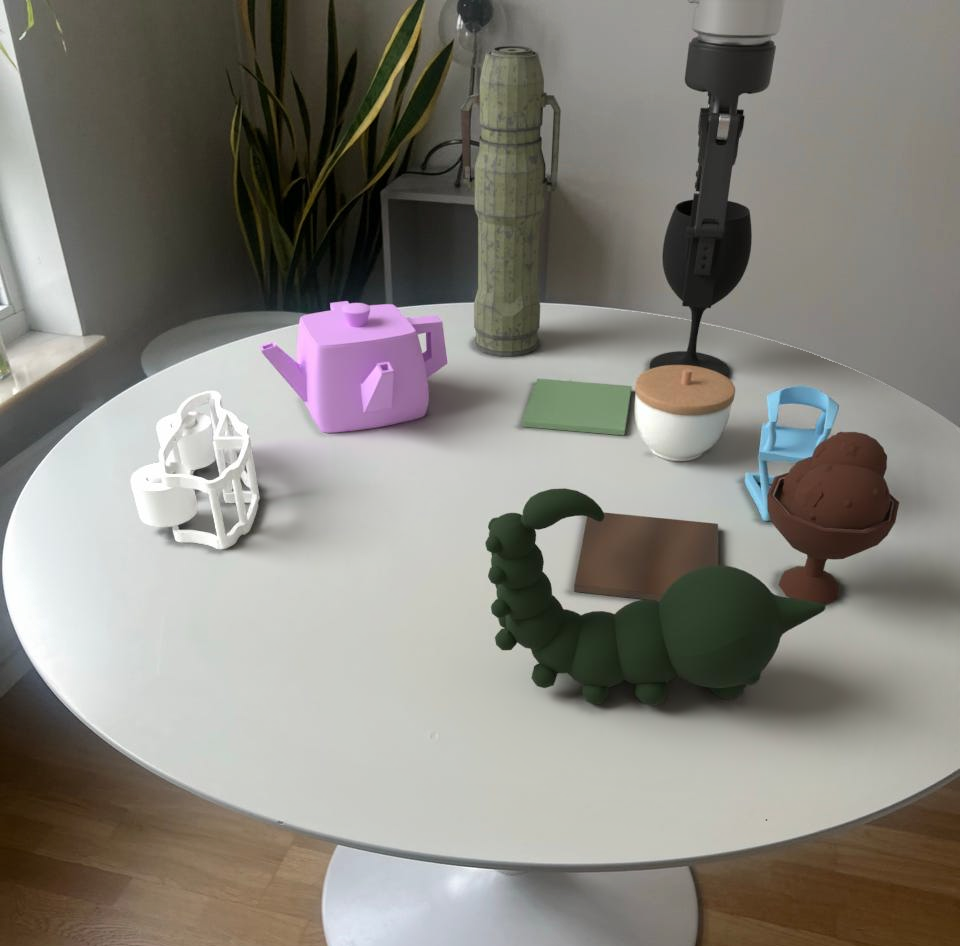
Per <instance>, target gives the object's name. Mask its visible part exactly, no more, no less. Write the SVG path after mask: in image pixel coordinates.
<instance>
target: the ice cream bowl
mask: <svg viewBox="0 0 960 946" xmlns="http://www.w3.org/2000/svg"><path fill="white" fill-rule="evenodd" d="M887 470H888V454H887V453H886V451H885V449H884V447H883V446H882V445H881V444H880V442H879V441H878V440H877V439H876V438H874V437H873V436H870V435H869V434H867V433H863V432H857V431H838V432H837V433H835V434H833V435H830V436H829V437H828V438H827V440H826V441H823V442H821V443H820V444H819V445H818V446H817V447H816V448H815V450H814V452H813V455H812V457H808V458H805V459H803V460H800V461H798V462H796V463H794V465H793V466H791V468H790V469H789V471H788V472H785V473H782V474H779V475H775V476H776V477H775V478H774V480H773V483H772V484H770V490H769V492H768V495H767V510H768V513H769V517H770V522H771V524H772V525H773V526H774V527H775V528H776V530H777V531H779V533H780V535H781V536H782V537H783V538H784V540H785V541H786V542H787V543H788V544H789V546H790V547H791V548H792V549H794V550H795V551H798V552H799V553H801V554H804V555H806V557H807V558H806V561H805V564H804V566H803V565H797V566H794V567H791V568H789V569H787V570H784V571H783V573H782V574H781V577H780V579H779V582H778V587H779V588H780V589H781V591H782V592H783V593H784V594H785V597H787V598H794V599H800V600H807V601H813V602H818V603H822V604H824V605H826V604H829V603H831V602H833V601H836V600H838V599H839V594H840V590H841V587H840V586H841V584H840V582H839V581H838V580H837V579H836V578H835V577H834V576H833V574H832V573H830V572H828V571H825V567H826V563H827V561H828V560H836V561H837V560H844V559H847V558H849V557H852V556H855V555H857V554H860V553H863V552H865V551H867V550H870V549H871V548H874V547H877V546H878V545H879V544H880V543H881V542H883V541H884V540H885V539H886V538H887V536H888V535H889V534H890V532H891V530H892V529H893V527H894V525H895V524H896V522H897V516H898V511H899V507H900V501H899V500H898V499H897V498H896V497H895V496H894V495H892V494H891V492H890V489H889V486H888V482H887V481H886V479H885V474H886V472H887Z"/></svg>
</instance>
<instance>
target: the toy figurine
mask: <svg viewBox="0 0 960 946" xmlns="http://www.w3.org/2000/svg"><path fill="white" fill-rule="evenodd" d="M603 512H604V511H603V509H602V507H601V506H600V505H599V504H598V503H597V502H596V501H595V499H593V498H592V497H590V496H589V495H587V494H585V493H583V492H581V491H578V490H575V489H570V488H565V487H564V488H550V489H546V490H543V491H540V492H537V493H535V494H533V495H532V496H530V497H529V499H528V500H527V501H526V502H525V505H524V506H523V509H522V514H521V513H519V512H518V513H517V512H506V513H504V514H501V515H500V516H497V517H492V518H491V519H490V520H489V522H488V524H487V525H488V526H487V529H488V537H487V538H486V540H485V544H484V545H485V549H486V550H487V552H489V553H491V558H490V568H489V570H488V573H487V577H488V580H489V581H490V583H491V584H493V585H494V586H495V588H496V592H495V593H496V599H495V600H494V601H493V602H492V603H491V606H490V610H491V614H492V615H493V616H494V617H496V618H497V620H498V624H499V626H500V627H501V629H500V630H499V631H498V632H497V633H496V635H495V636H494V640H495V646H497V647H498V648H499V649H500V650H501V651H512V650H513V649H514V648H515V647H516V645H517V644H519V645H520V646H521V647H522V648H525V649H529V650H530V651H531V654H532V656H533V658H534V659H535V661H536V662H537V663H536V664H535V665H534V666H533V670H532V673H531V680H532V682H533V683H534V684H535V685H536V687H539V688H542V689H547V688H549V687H553V686H554V685H555V683H556V680H557V678H558V674H568V675H569V677H571V678H572V679H573V680H574V681H575V682H577V683H579V684H580V685H582V689H581V692H582V695H583V699H584V700H585V701H586V702H587V703H589V704H592V705H600V704H602V703H604V701H606V699H607V698H608V697H609V688H610V687H613V686H616V685H618V684H620V683H621V682H623V681H626V682H628V683H630V684H632V685H635V686H634V693H635V694H634V695H635V696H636V697H637V698H638V699H639V701H640V702H641V703H642V704H643V705H646V706H652V707H654V706H656V705H659V704H662V703H663V702H664V701H665V700H666V697H667V695H668V693H669V683H668V682H670V681H671V680H673V679H675V677H677V676H678V677H680V678H681V679H683V680H685V681H687V682H689V683H691V684H693V685H697V686H700V687H704V688H709V690H710V691H711V692H712V693H713V694H714V695H716V696H717V697H718V698H722V699H724V700H725V699H726V700H732V699H736V698H738V697H739V696H741V695H742V694H744V692H745V690H746V688H747V686H752V685H755V684H757V683H758V682H759V681H760V679H761V677H762V676H761V675H762V672H763V671H764V670H765V669H766V667H767V666H768V665H769V663H770V662H771V661H772V659H773V657H774V656H775V653H776V652H777V650H778V647H779V645H780V643H781V638H782V637H783V635H784V634H785V633H787V632H788V631H790V630H792V629H794V628H795V627H797V626H800V625H802V624H804V623H805V622H807V621H809V620H811V619H813V618H815V617H817V616H818V615H820V614H822V613H823V612H824V611H825V610H826V604H822V603H818V602H813V601H807V600H800V599H794V598H790V597H788V596H781V595H777V594H774V593H773V592H772V591H771V590H770V588H769V587H768V586H767V585H766V584H765V583H764V582H762V581H761V580H760V579H759V578H757V576H755V575H754V574H752V573H750V572H748V571H746V570H743V569H740V568H737V567H735V566H729V565H722V564H718V565H712V566H707V567H702V568H698V569H695V570H693V571H690V572H688V573H686V574H685V575H683V576H681V577H680V578H679V579H677V580H676V581H675V582H674V583H673V584H672V585H671V586H670V587H669V588H668V589H667V590H666V591H665V593H664V594H663V596H662V597H661V599H660V601H656V600H647V599H638V600H635V601H632V602H630V603H627V604H625V605H624V606H622V607H621V608H620V609H618V610H617V611H616V612H615V613H613V612H610V611H604V610H596V611H595V610H594V611H589V612H585V613H583V614H580V613H578V612H576V611H573V610H571V609H567V608H564V607H563V605H562V603H561V602H560V601H559V600H558V598H557V597H556V596H555V595H554V594H553V587H552V583H551V580H550V579H549V576H548V575H547V574H546V573H545V572H544V563H545V559H544V555H543V551H542V550H541V549H540V547H539V546H538V545H537V544H536V542H537V532H536V530H537V531H540V530H544V529H547V528H550V527H551V526H553V525H555V524H556V523H558V522H561V520H564V519H567V518H572V517H586V518H587V517H590V518H592V519H594V520H596V521H598V522H601V521H602V520H603V519H604V513H603Z"/></svg>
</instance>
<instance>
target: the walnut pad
mask: <svg viewBox="0 0 960 946" xmlns="http://www.w3.org/2000/svg"><path fill="white" fill-rule="evenodd" d="M603 513H604V519H603V520H602V521H601V522H598V521H596V520H594V519H592V518H590V517H587V516H586V521H585V524H584V529H583V534H582V535H583V536H582V541H581V546H580V552H579V556H578V557H579V558H578V562H577V568H576V573H575V578H574V583H573V592H577V593H583V594H584V593H585V594H595V595H603V596H610V597H611V596H613V597H621V598H630V599H638V600H656V601H660V599H661V597H662V596H663V594H664V593H665V591H666V590H667V589H668V588H669V587H670V586H671V585H672V584H673V583H674V582H675V581H676V580H677V579H679V578H680V577H681V576H683V575H685V574H686V573H688V572H690V571H693V570H695V569H698V568H702V567H707V566H712V565H719V524H718V523H715V522H706V521H705V522H704V521H695V520H684V519H675V518H674V519H673V518H664V517H654V516H643V515H633V514H624V513H613V512H605V511H603Z"/></svg>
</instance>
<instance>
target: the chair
mask: <svg viewBox="0 0 960 946" xmlns="http://www.w3.org/2000/svg"><path fill="white" fill-rule="evenodd" d="M787 404H788V405H791V404H792V405H804V406H809V407H812V408H816V409H818V410H821V413H820V415H819V417H818V418H817V421H816V424H815V428H800V427H791V426H784V425H780V424H778V420H779V408H780V405H787ZM766 405H767V406H766V407H767V417H768V421H767V422H762V425H761V431H760V441H759V447H758V448H759V449H758V458H757V460H758V472H751V471H750V472H749V471H748V472H746V473H745V476H744V484H745V486H746V489H747V491H748V492H749V494H750V496H751V498H752V500H753V502H754V503H755V505H756V507H757V509H758V511H759V513H760V514H759V515H760V517H761V519H762V520H763V521H765V522H769V521H770V522H771V520H770V517H769V513H768V510H767V495H768V492H769V490H770V487H771V485H772V483H773V480H774V478H775V477H776V476H777V475H774V474H769V469H768V462H770V463H771V462H774V463H775V462H776V463H777V462H778V463H780V462H781V463H791V464H796V462H798V461H800V460H803V459H805V458H808V457H812V455H813V452H814V450H815V448H816V447H817V446H818V445H819V444H820V443H821V442H823V441H826V440H827V439H829V438H830V436H831V432H832V429H833V426H834V423H835V420H836V418H837V415H838V413H839V409H840V404H839V403H838V402H837V401H835V400H834V399H833V398H832V397H830V395H828V394H826V393H825V392H824V391H822V390H820V389H818V388H815V387H812V386H808V385H791V386H788V387H784V388H781V389H778V390H775V391H773V392H771V393H769V394H768V395H767V396H766ZM759 484H760V485H759Z"/></svg>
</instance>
